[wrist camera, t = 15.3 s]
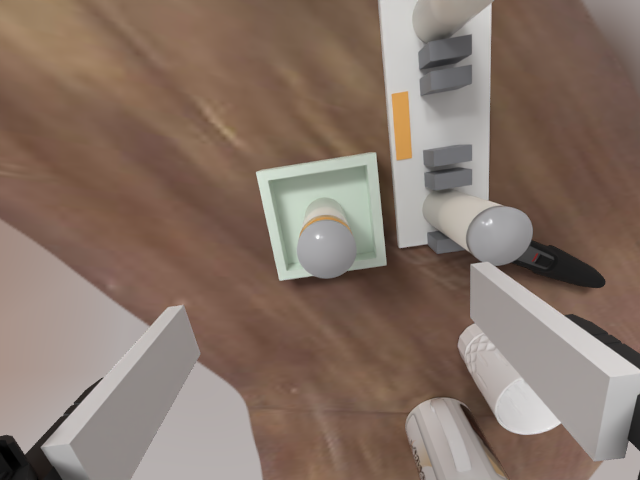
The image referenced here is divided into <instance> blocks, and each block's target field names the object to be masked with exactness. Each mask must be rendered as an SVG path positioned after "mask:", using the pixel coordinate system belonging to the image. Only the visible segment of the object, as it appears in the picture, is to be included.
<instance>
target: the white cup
mask: <svg viewBox="0 0 640 480" xmlns="http://www.w3.org/2000/svg"><path fill="white" fill-rule="evenodd" d="M458 349H459V352H460V355H461V357H462V359H463V360H464V362H465V364H466V366H467V368H468V370H469V372H470V374H471V375H472V377H473V379H474V381H475V383H476V385H477V386H478V388H479V390H480V392H481V393H482V395H483V397H484V398H485V400H486V402H487V403H488V405H489V407H490V408H491V410H492V412H493V414H494V415H495V417H496V419H497V421H498V422H499V423H500V425H501V426H502V427H504V428H505V429H506V430H508V431H510V432H513V433H516V434H522V435H532V434H539V433H542V432H546V431H548V430H551V429H553V428H555V427H556V426H558V425H559V424H561V422H560V421H559V420H558V419H557V418H556V416H555V415H554V414H553V413H552V412H551V411H550V410H549V408H548V407H547V406H546V405H545V404H544V403H543V401H542V400H541V399H540V398H539V397H538V396H537V394H536V393H535V392H534V391H533V390H532V389H531V387H530V386H529V385H528V384H527V383H526V382H525V380H524V379H523V378H522V377H521V376H520V375H519V373H518V372H517V371H516V370H515V369H514V368H513V366H512V365H511V364H510V363H509V362H508V361H507V360H506V358H505V357H504V356H503V355H502V354H501V353H500V351H499V350H498V349H497V348H496V347H495V346H494V344H493V343H492V342H491V341H490V340H489V339H488V337H487V336H486V335H485V334H484V333H483V332H482V330H481V329H480V328H479V327H478V326H477V325H476V323H474V324H472V325H470V326H468V327H467V328H466V329H465V330H464V331H463V333H462V334H461V335H460V337H459V341H458Z"/></svg>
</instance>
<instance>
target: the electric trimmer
mask: <svg viewBox="0 0 640 480" xmlns="http://www.w3.org/2000/svg"><path fill="white" fill-rule="evenodd" d="M510 263H513V264H516V265H519V266H522V267H525V268H528V269H530V270H532V271H533V272H534V273H536V274H539V275H543V276H546V277H549V278H553V279H557V280H560V281H564V282H567V283H571V284H575V285H579V286H584V287H592V288H601V287H603V286H604V285H605V279H604V278H603V276H602V275H601V274H600V273H599V272H598V271H597V270H596V269H594V268H593V267H591V266H589V265H588V264H586V263H584V262H582V261H580V260H578V259H577V258H575V257H573V256H571V255H569V254H568V253H566V252H564V251H562V250H560V249H558V248H556V247H554V246H551V245H549V246H545V245H542V244H540V243H537V242H535V241H532V240H531V242H530V245H529V246H528V248H527V250H526V251H525V252H524V253H523V254H522V255H521V256H520V257H519V258H517V259H516V260H514V261H513V262H510Z"/></svg>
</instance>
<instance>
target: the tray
mask: <svg viewBox="0 0 640 480" xmlns="http://www.w3.org/2000/svg"><path fill="white" fill-rule="evenodd" d="M256 175H257V179H258V184H259V189H260V193H261V198H262V202H263V207H264V212H265V216H266V221H267V225H268V230H269V235H270V239H271V244H272V248H273V253H274V258H275V262H276V267H277V271H278V276H279V281H281V280H288V279H295V278H302V277H309V276H313V275H311V274H310V273H308V272H307V271H306V270H305V269H304V268H303V267H302V266H301V264H300V262H299V260H298V256H297V244H298V240H299V236H300V232H301V229H302V225H303V221H304V216H305V212H306V209H307V207H308V206H309V204H310V203H311V202H312V201H314V200H316V199H318V198H323V197H327V198H331V199H334V200H335V201H337V202H338V203H339V204H340V205H341V207H342V208H343V211H344V214H345V217H346V219H347V222H348V225H349V227H350V229H351V232H352V234H353V237H354V240H355V243H356V249H357V252H356V258H355V260H354V262H353V264H352V266H351V267H350V268H349V269H348V270H347V271H350V270H357V269H364V268H371V267H378V266H385V265H387V262H386V252H385V242H384V231H383V221H382V210H381V200H380V189H379V179H378V168H377V158H376V153H374V152H369V153H363V154H357V155H351V156H345V157H338V158H332V159H326V160H320V161H314V162H308V163H301V164H295V165H289V166H283V167H277V168H271V169H264V170H260V171H258V172H256Z"/></svg>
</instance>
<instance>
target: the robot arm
mask: <svg viewBox="0 0 640 480" xmlns="http://www.w3.org/2000/svg"><path fill="white" fill-rule="evenodd" d="M470 318H471V319H472V320H473V321H474V322H475V323H476V325H477V326H478V327H479V328H480V329H481V330H482V332H483V333H484V334H485V335H486V336H487V337H488V339H489V340H490V341H491V342H492V343H493V344H494V346H495V347H496V348H497V349H498V350H499V351H500V353H501V354H502V355H503V356H504V357H505V358H506V360H507V361H508V362H509V363H510V364H511V365H512V366H513V368H514V369H515V370H516V371H517V372H518V373H519V375H520V376H521V377H522V378H523V379H524V380H525V382H526V383H527V384H528V385H529V386H530V387H531V389H532V390H533V391H534V392H535V393H536V394H537V396H538V397H539V398H540V399H541V400H542V401H543V403H544V404H545V405H546V406H547V407H548V408H549V410H550V411H551V412H552V413H553V414H554V415H555V416H556V418H557V419H558V420H559V421H560V422H561V423H562V425H563V426H564V427H565V428H566V429H567V430H568V432H569V433H570V434H571V435H572V436H573V437H574V439H575V440H576V441H577V442H578V443H579V444H580V446H581V447H582V448H583V449H584V450H585V451H586V453H587V454H588V455H589V456H590V457H591V458H592V460H593V461H602V460H611V459H620V458H625V454H626V450H627V446H628V441H630V442H631V443H632V444H633V445H634V446H635V447H636V448H637V449H638V450H639V451H640V354H639V353H638V352H636V351H635V350H633V349H632V348H630V347H629V346H627V345H626V344H622V343H621V341H620V340H618V339H616V338H615V337H613V336H612V335H608V333H607V332H606V331H604V330H603V329H601V328H600V327H598V326H597V325H595V324H594V323H592V322H590V321H588V320H585V319H583V318H580V317H578V316H575V315H573V314H570V315H562V314H561V313H560V312H558V311H557V310H555V309H554V308H553V307H551V306H550V305H548V304H547V303H546V302H544V301H543V300H541V299H540V298H539V297H537V296H536V295H534V294H533V293H531V292H530V291H529V290H527V289H526V288H524V287H523V286H522V285H520V284H519V283H517V282H516V281H515V280H513V279H512V278H510V277H509V276H508V275H506V274H505V273H503V272H502V271H501V270H499V269H498V268H496V267H495V266H494V265H492V264H491V263H489V262H482V263H475V264H471V267H470ZM199 356H200V351H199V348H198V345H197V342H196V339H195V336H194V333H193V330H192V328H191V325H190V322H189V319H188V316H187V313H186V310H185V307H184V305H181V306H174V307H168V308H167V309H166V310H165V311H164V312H163V313H162V314H161V315H160V316H159V318H158V319H157V320H156V321H155V322H154V323H153V324H152V325H151V326H150V327H149V329H148V330H147V331H146V332H145V333H144V334H143V335H142V336H141V337H140V339H139V340H138V341H137V342H136V343H135V344H134V345H133V346H132V347H131V348H130V349H129V351H128V352H127V353H126V354H125V355H124V356H123V357H122V358H121V359H120V361H119V362H118V363H117V364H116V365H115V366H114V367H113V368H112V369H111V370H110V371H109V373H108V374H107V375H106V376H105V377H104V378H101V379H100V380H98V381H97V382H96V383H94V384H93V385H92V386H90V387H89V388H88V389H87V390H85V391H84V392H83V394H82V395H81V396H80V397H79V398H78V399H77V400H76V401H75V402H74V405H72V406H70V408H68V409H67V411H66V412H65V413H64V415H63V416H62V417H60V418H59V419H58V420H57V421H56V422H55V423H54V425H53V426H52V427H51V428H50V429H49V430H48V431H47V432H46V433H45V434H44V435H43V436H42V437H41V439H39V440H38V442H37V443H36V444H35V445H34V446H33V447H32V448H31V449H30V450H29V451H28V452H27V453H26V454H25V455H24V453H23V451H22V450H21V448H20V447H19V445H18V444H17V442H16V441H15V439H14V438H13V436H9V435H4V436H0V480H130V479H131V478H132V476H133V474H134V472H135V470H136V469H137V467H138V465H139V463H140V461H141V460H142V457H143V456H144V454H145V452H146V450H147V449H148V447H149V445H150V443H151V442H152V440H153V438H154V436H155V435H156V433H157V431H158V429H159V427H160V426H161V424H162V422H163V420H164V418H165V416H166V415H167V413H168V411H169V409H170V407H171V406H172V404H173V402H174V400H175V399H176V397H177V395H178V393H179V391H180V389H181V388H182V386H183V384H184V382H185V381H186V379H187V377H188V375H189V373H190V372H191V370H192V368H193V366H194V364H195V363H196V361H197V359H198V357H199ZM638 480H640V472H639V476H638Z"/></svg>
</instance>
